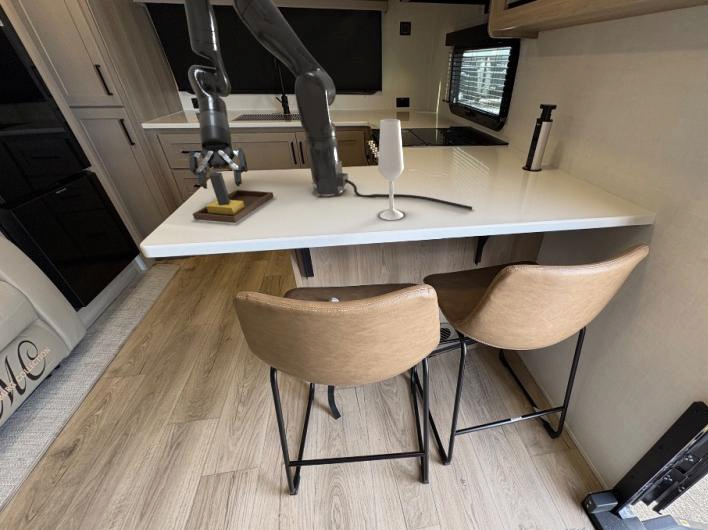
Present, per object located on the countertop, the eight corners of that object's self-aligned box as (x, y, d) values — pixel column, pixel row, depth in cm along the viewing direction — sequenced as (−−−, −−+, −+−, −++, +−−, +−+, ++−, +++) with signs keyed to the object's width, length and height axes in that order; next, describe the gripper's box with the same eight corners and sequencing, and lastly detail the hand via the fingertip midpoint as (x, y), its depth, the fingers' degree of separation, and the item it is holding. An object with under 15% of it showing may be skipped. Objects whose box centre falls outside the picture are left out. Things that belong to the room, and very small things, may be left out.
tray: (274, 198, 105) (272, 192, 104) (236, 224, 89) (233, 217, 88) (238, 196, 107) (236, 189, 106) (195, 221, 91) (192, 213, 90)
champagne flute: (401, 210, 97) (402, 118, 83) (404, 219, 92) (405, 122, 77) (379, 211, 96) (375, 118, 82) (380, 220, 91) (377, 123, 77)
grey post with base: (245, 209, 96) (234, 172, 90) (234, 216, 92) (222, 177, 85) (221, 207, 97) (208, 170, 91) (209, 214, 93) (195, 176, 87)
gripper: (181, 125, 88) (186, 181, 86) (238, 122, 91) (244, 177, 89) (194, 142, 96) (199, 194, 94) (246, 140, 98) (252, 190, 96)
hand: (221, 186), depth 91 cm, fingers open, 8 cm apart
